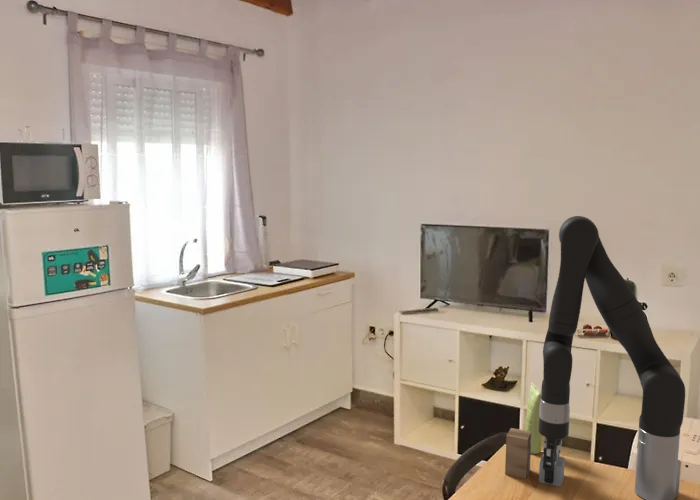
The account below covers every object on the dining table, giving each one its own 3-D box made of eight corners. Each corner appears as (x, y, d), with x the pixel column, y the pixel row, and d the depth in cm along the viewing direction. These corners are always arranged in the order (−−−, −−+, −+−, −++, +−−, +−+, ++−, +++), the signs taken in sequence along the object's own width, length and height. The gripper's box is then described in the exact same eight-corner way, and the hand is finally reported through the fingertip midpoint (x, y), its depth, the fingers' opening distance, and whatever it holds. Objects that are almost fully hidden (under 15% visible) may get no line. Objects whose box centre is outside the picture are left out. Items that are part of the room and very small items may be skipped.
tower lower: (509, 465, 174) (510, 446, 173) (529, 470, 171) (530, 450, 171) (505, 474, 169) (505, 455, 168) (525, 479, 167) (526, 459, 166)
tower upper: (510, 446, 173) (510, 427, 172) (530, 450, 171) (531, 431, 170) (505, 455, 168) (506, 435, 168) (526, 459, 166) (527, 439, 165)
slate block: (542, 472, 170) (543, 453, 169) (563, 477, 168) (564, 457, 167) (538, 482, 165) (539, 462, 164) (560, 486, 163) (561, 466, 162)
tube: (546, 451, 183) (549, 386, 180) (537, 456, 179) (540, 391, 176) (529, 444, 187) (531, 381, 184) (519, 450, 183) (522, 385, 180)
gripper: (565, 429, 156) (561, 492, 158) (573, 409, 169) (569, 467, 171) (534, 424, 159) (531, 485, 162) (544, 404, 172) (541, 461, 174)
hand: (551, 476), depth 166 cm, fingers open, 7 cm apart
